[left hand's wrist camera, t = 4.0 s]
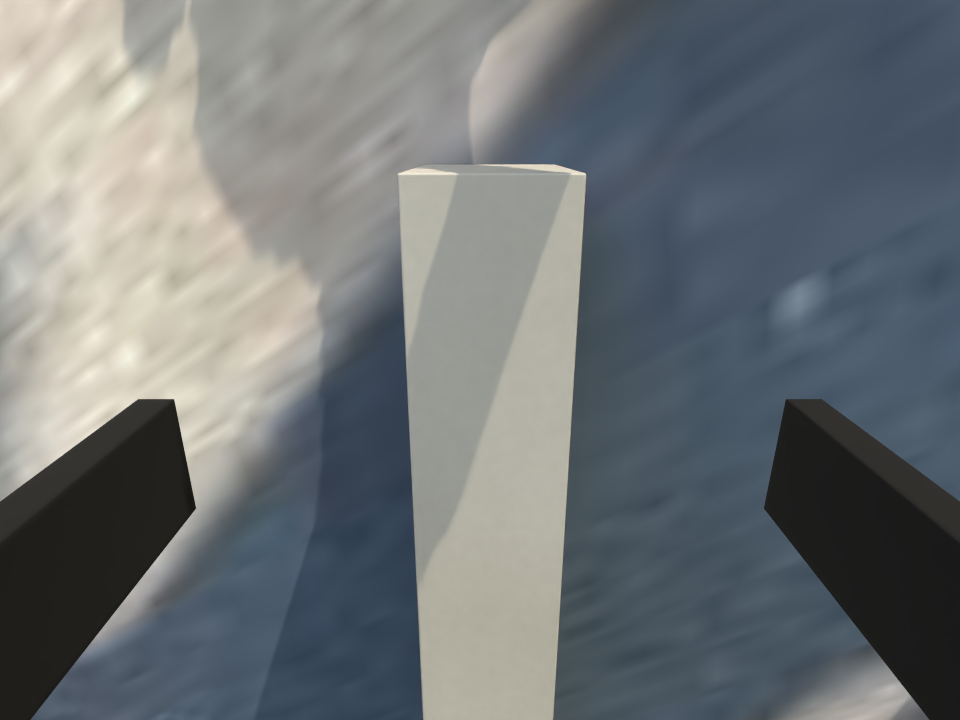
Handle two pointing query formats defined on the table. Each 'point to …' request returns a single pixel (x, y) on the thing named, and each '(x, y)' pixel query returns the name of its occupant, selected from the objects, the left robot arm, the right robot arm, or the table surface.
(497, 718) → the bar
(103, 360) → the table surface
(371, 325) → the table surface
